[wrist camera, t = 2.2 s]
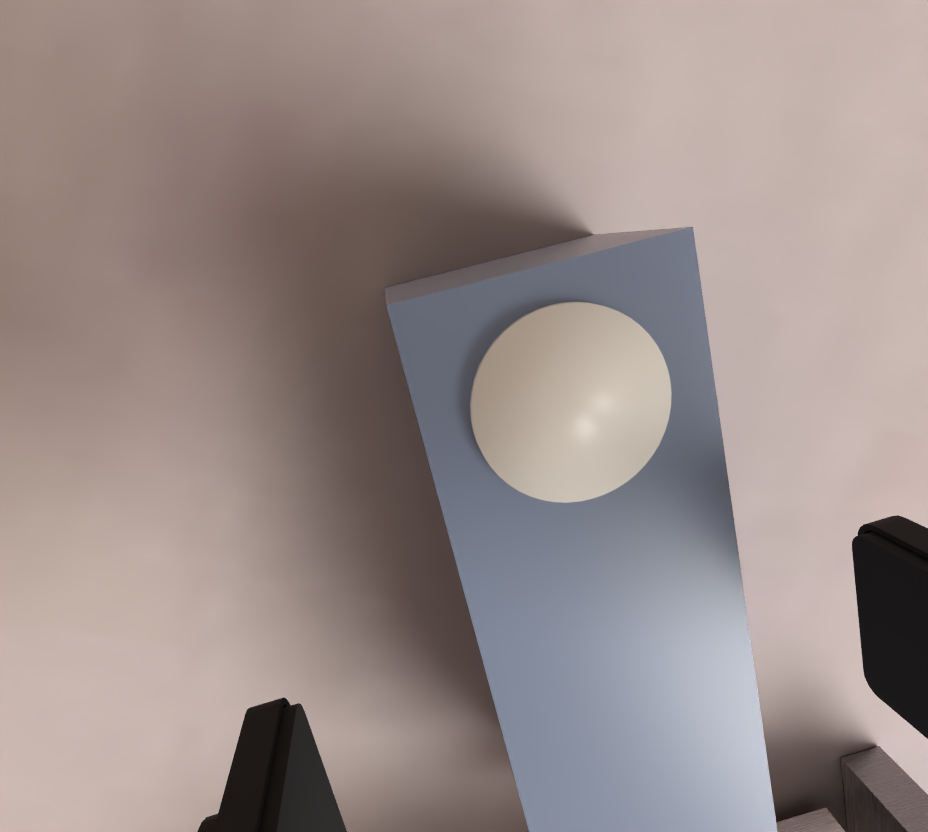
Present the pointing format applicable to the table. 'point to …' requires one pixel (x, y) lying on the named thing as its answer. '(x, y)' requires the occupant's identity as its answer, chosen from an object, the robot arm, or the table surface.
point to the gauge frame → (881, 795)
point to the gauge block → (594, 529)
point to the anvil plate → (811, 823)
